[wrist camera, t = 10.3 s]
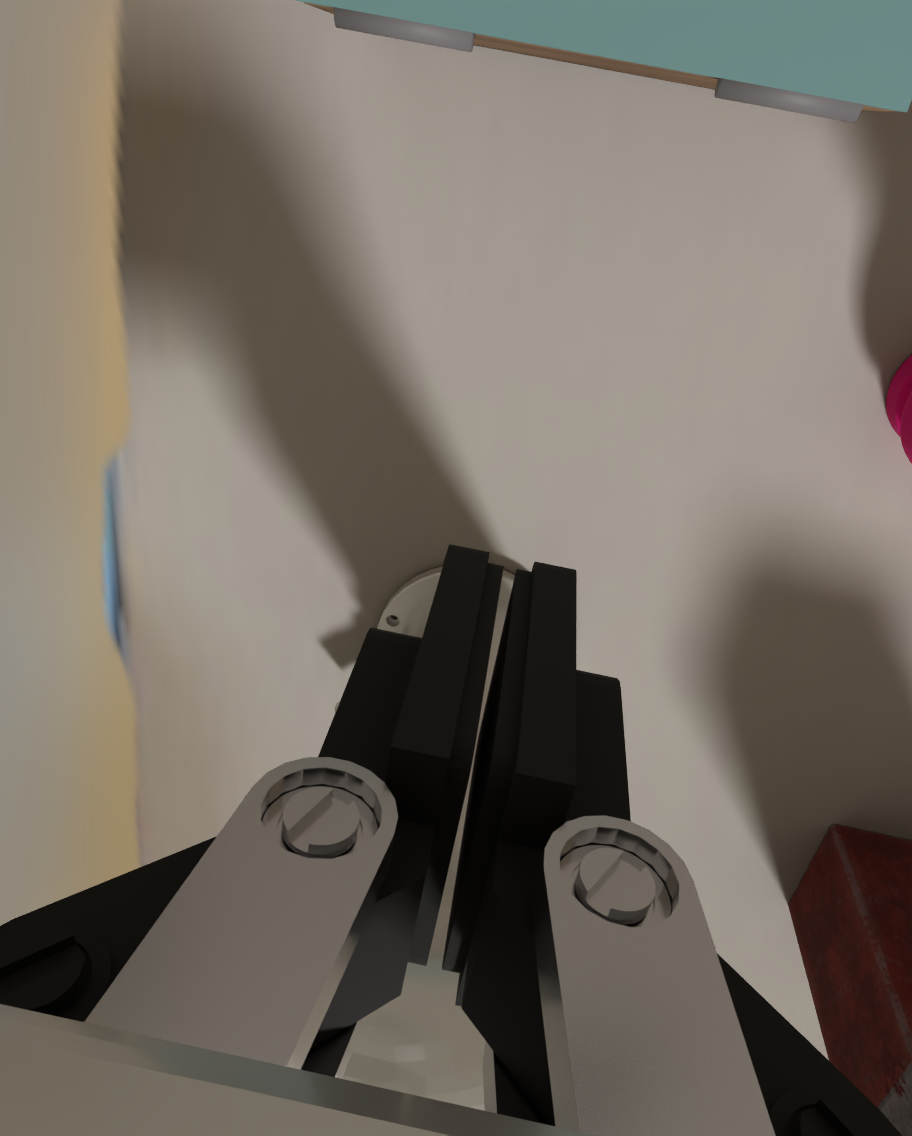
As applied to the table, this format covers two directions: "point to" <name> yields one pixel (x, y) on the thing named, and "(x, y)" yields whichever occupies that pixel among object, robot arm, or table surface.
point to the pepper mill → (902, 405)
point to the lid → (690, 41)
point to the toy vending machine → (862, 961)
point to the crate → (595, 61)
